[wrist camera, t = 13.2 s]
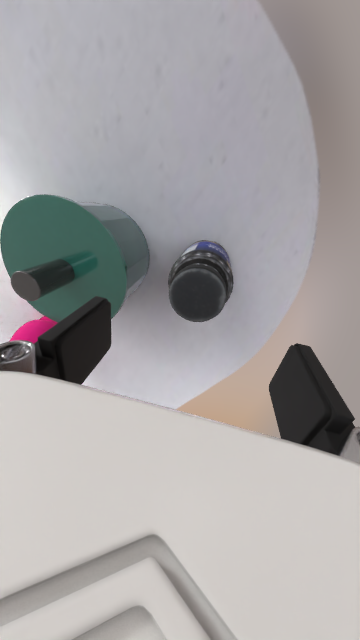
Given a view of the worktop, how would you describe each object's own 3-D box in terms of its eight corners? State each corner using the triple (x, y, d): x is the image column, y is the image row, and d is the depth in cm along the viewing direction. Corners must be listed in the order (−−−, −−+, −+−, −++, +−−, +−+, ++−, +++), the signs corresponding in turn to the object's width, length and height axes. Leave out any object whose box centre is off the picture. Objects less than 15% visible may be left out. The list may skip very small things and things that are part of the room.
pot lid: (134, 210, 17) (101, 210, 12) (128, 334, 23) (104, 367, 19) (-5, 182, 18) (-88, 173, 13) (24, 310, 24) (-25, 335, 19)
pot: (153, 213, 24) (125, 216, 17) (145, 302, 30) (121, 332, 23) (61, 195, 25) (-5, 189, 18) (70, 285, 31) (23, 309, 23)
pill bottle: (239, 267, 26) (252, 303, 16) (202, 297, 28) (193, 342, 19) (207, 227, 24) (201, 240, 15) (171, 262, 27) (145, 292, 17)
